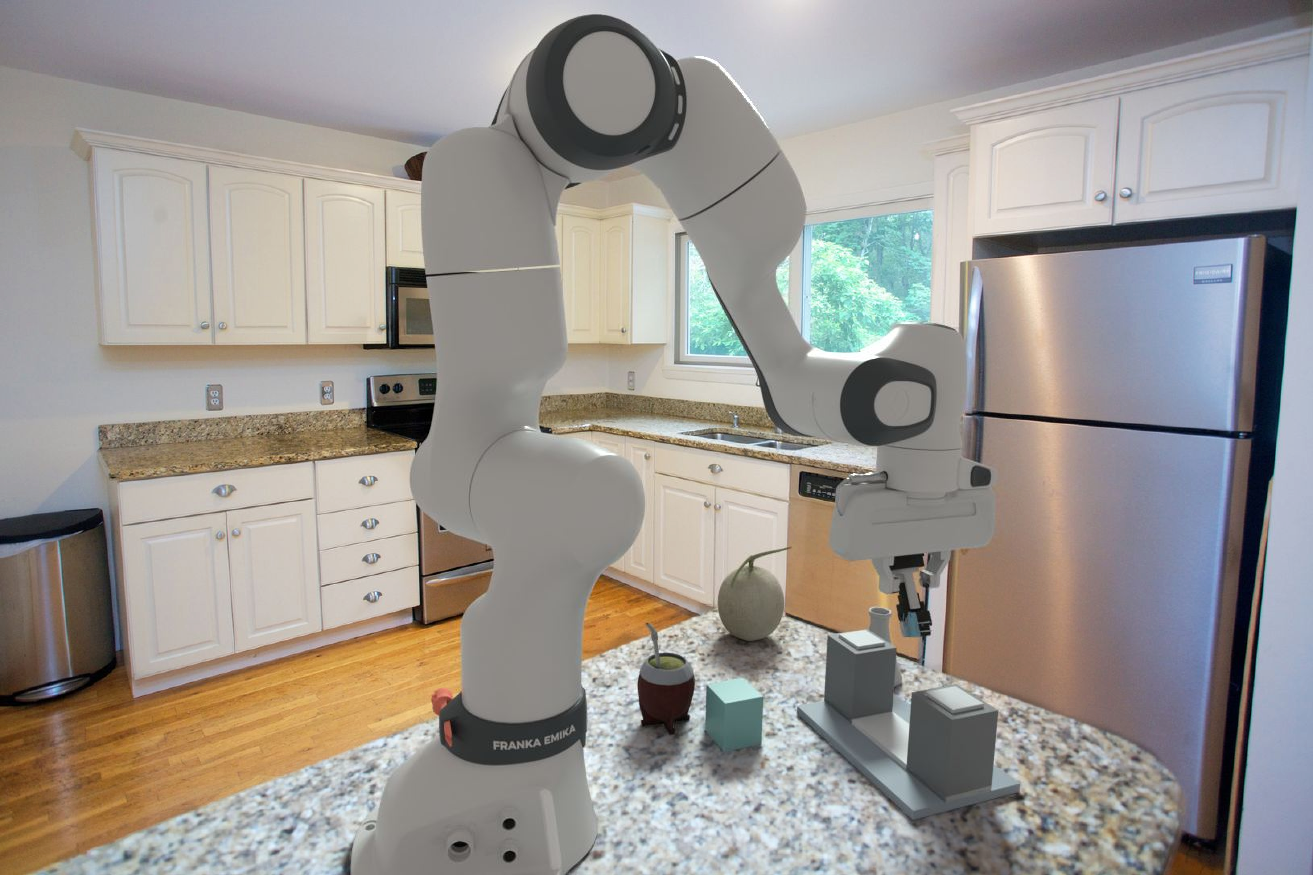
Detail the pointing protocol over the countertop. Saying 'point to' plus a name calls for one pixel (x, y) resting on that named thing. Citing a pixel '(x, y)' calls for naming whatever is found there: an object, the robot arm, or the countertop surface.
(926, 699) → the gray block stand
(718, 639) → the countertop surface
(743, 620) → the fruit
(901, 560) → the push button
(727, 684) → the block
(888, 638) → the flask
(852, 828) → the countertop surface
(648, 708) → the mate gourd
